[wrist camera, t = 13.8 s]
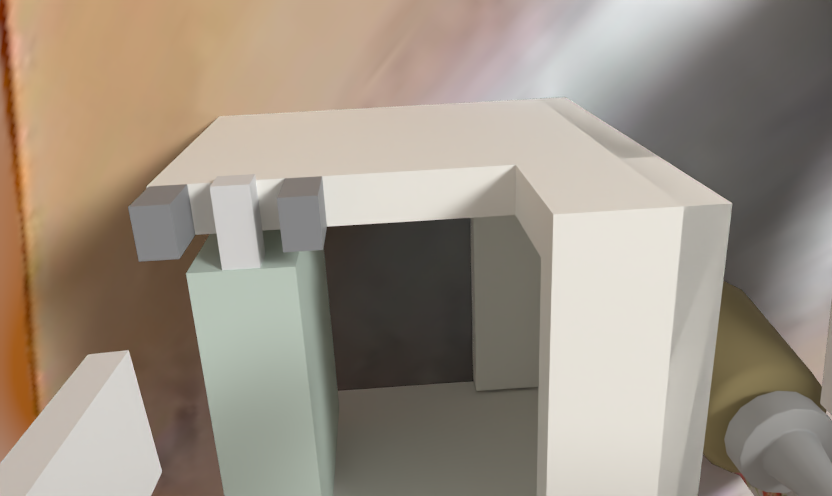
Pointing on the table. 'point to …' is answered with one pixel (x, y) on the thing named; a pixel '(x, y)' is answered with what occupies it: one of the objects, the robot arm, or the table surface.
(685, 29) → the table surface
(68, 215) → the table surface
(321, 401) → the door
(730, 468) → the squeeze bottle
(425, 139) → the cabinet
